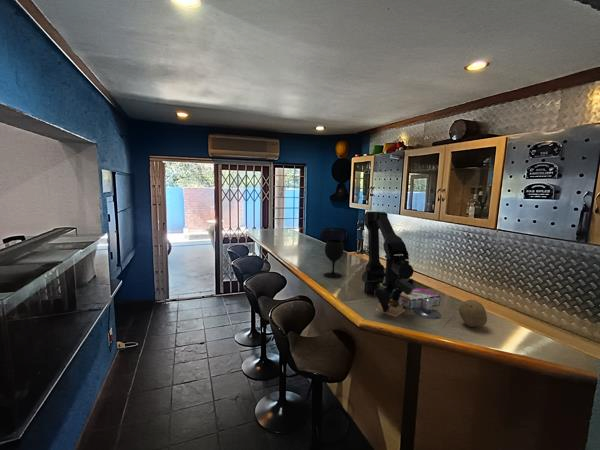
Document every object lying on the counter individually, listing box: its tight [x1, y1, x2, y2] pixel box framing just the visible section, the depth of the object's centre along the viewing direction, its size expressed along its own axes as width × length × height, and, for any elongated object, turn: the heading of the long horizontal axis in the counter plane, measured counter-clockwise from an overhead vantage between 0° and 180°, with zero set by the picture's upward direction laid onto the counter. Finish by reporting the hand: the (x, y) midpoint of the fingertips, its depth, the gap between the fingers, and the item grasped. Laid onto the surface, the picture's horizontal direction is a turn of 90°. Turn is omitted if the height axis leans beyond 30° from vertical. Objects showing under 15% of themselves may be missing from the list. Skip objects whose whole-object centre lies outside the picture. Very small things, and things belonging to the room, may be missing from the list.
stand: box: [374, 303, 406, 317], centre depth 119 cm, size 9×9×3 cm
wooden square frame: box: [377, 299, 404, 316], centre depth 119 cm, size 7×7×3 cm
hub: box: [413, 299, 442, 320], centre depth 116 cm, size 10×10×7 cm
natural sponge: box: [458, 299, 488, 328], centre depth 109 cm, size 9×9×10 cm
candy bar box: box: [398, 287, 442, 310], centre depth 129 cm, size 11×5×16 cm
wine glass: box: [323, 239, 344, 279], centre depth 165 cm, size 10×10×20 cm
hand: (390, 308), depth 119 cm, fingers open, 9 cm apart
